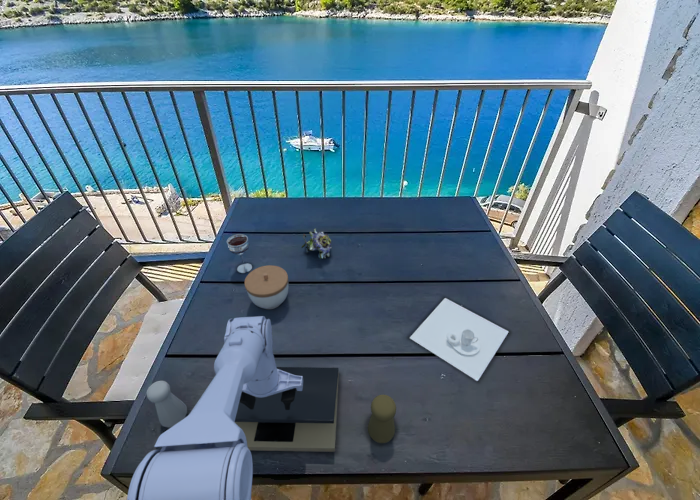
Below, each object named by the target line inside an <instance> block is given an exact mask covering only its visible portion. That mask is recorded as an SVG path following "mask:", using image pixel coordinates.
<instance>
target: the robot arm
mask: <svg viewBox="0 0 700 500" xmlns="http://www.w3.org/2000/svg"><path fill="white" fill-rule="evenodd" d="M273 340H274V339H273V328H272V322H271V319H270V318H266V316H264V315H258V316H243V317H239V316H238V317H234V318H229V319H228V320H227V324H226V327H225V334H224V337H223V341H224V344H223V345H222V347H221V349H220V351H219V352H218V354H217V356H216V358H215V360H214V364H213V371H214V373H215V375H214V377H213V378H212V380H211V382H210V383H209V384H208V386H207V387H206V389H205V390H204V391H203V393H202V395H201V396H200V398H199V399H198V400H197V402H196V403H195V405H194V407H192V410H191V411H190V412H189V414H188V415H186V417H185V418H184V419H183V420H181V421H180V422H178V423H177V424H176V425H174V426H173V427H170V428H167V430H166V431H164V432H162V433H161V434H160V435H159V436H158V438H157V439H156V442H155V444H154V445H153V448H161V449H153V450H151V451H149V452H148V453H147V454H146V455H145V456H144V457H143V459H142V460H141V461H140V462H139V464H138V465H137V467H136V469H135V471H134V472H133V475H132V477H131V479H130V483H129V487H128V491H127V496H126V500H252V487H253V476H254V474H253V473H254V467H253V456H252V452H251V450H249V449H248V447H247V440H246V436H245V434H244V432H243V430H242V429H241V428H240V427H239V426H238V425H237V424H236V423H235V418H236V414H237V410H238V405H239V402H240V403H242V404H244V405H245V406H247V407H248V408H249V409H254V405H255V401H256V398H255V397H259V398H262V397H267V396H270V395H273V394H277V393H280V392H282V397H281V402H283V403H284V405H285V409H286V410H290V404H291V402H293V401H294V399H295V393H296V389H297V391H302V388H303V376H297V375H295V374H290V373H287V372H285V371H282V370H279V369H277V367H278V366H277V364H276V359H275V355H274V352H273V351H274V350H273V345H274V342H273Z"/></svg>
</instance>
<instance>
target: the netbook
mask: <svg viewBox="0 0 700 500" xmlns="http://www.w3.org/2000/svg"><path fill="white" fill-rule="evenodd" d="M339 377H340V375H339V371H338V382H337V393H336V404H335V415H334V423H333V424H332V423H271V422H235V423H236V424H237V425H238V426H239V427H240V428H241V429H242V430H243V432H244V434H245V436H246V440H247V447H248V449H249V450H250V451H260V452H261V451H262V452H264V451H265V452H266V451H268V452H321V453H328V452H329V453H335V451H336V441H337V440H336V436H337V420H338V419H337V418H338V400H339V399H338V397H339Z"/></svg>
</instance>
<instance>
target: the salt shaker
mask: <svg viewBox="0 0 700 500" xmlns="http://www.w3.org/2000/svg"><path fill="white" fill-rule="evenodd" d="M146 398H147V399H148V400H149V402H151V403H153V404H154V406H155V410H156V414H157V419H158V422H159V423H160V425H161V426H162V427H165V428H167V429H170V428H171V427H173V426H174V425H176V424H177V423H178V422H180V421H181V420H183V419H184V418H186V417H187V414H188V407H187V405H186V404H185V402H183V401H182V400H181V399H180V398H179V397H177V396H176V395H175V394H174V393H172V392H171V385H170V384H169V383H168V382H167V381H166V380H157V381H155V382H153V383H151V385H150V386H148V388H147V390H146Z"/></svg>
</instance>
